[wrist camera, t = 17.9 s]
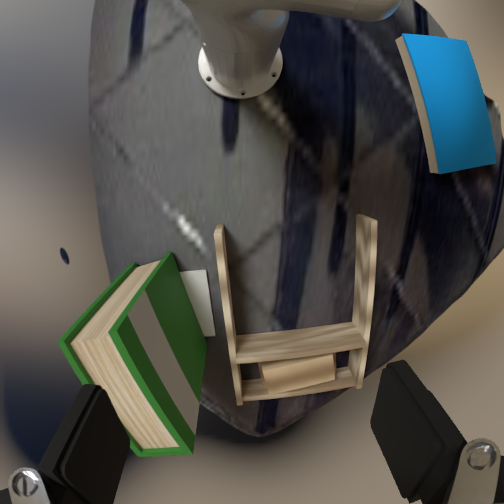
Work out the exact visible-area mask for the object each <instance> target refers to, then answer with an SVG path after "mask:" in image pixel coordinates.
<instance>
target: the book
mask: <svg viewBox="0 0 504 504" xmlns="http://www.w3.org/2000/svg"><path fill="white" fill-rule="evenodd" d="M395 41H396V43H397V46H398V49H399V52H400V54H401V57H402V60H403V63H404V66H405V69H406V72H407V75H408V78H409V82H410V85H411V88H412V92H413V95H414V99H415V103H416V106H417V110H418V114H419V118H420V123H421V127H422V131H423V136H424V141H425V146H426V151H427V156H428V162H429V168H430V173H438V174H444V173H449V172H454V171H459V170H464V169H469V168H474V167H479V166H484V165H490V164H495V163H497V161H496V154H495V147H494V141H493V135H492V130H491V125H490V120H489V115H488V111H487V106H486V102H485V98H484V94H483V90H482V87H481V83H480V80H479V77H478V73H477V70H476V67H475V64H474V61H473V58H472V55H471V52H470V49H469V47H468V44H467V41H464V40H458V39H451V38H444V37H436V36H426V35H415V34H402V36H401V37H399V38H398V39H397V40H395Z"/></svg>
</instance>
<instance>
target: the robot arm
mask: <svg viewBox="0 0 504 504" xmlns="http://www.w3.org/2000/svg"><path fill="white" fill-rule="evenodd" d="M181 1H182V2H183V3H184V4H185V5H186V6H187V7H188V8H189V10H190V11H191V13H192V16H193V18H194V21H195V24H196V27H197V31H198V34H199V37H200V41H201V44H202V48H201V50H200V53H199V56H198V69H199V73H200V76H201V78H202V79H203V81H204V83H205V84H206V85H207V86H208V87H209V88H210V89H211V90H212V91H214V92H215V93H217V94H219V95H221V96H224V97H227V98H231V99H248V98H253V97H256V96H258V95H261V94H263V93H264V92H266V91H268V90H269V89H270V88H271V87H272V86H273V85H274V84H275V82H276V81H277V80H278V78H279V76H280V73H281V70H282V65H283V59H282V54H281V51H280V48H279V45H280V43H281V40H282V37H283V35H284V32H285V29H286V26H287V23H288V19H289V10H292V11H302V12H310V13H318V14H324V15H331V16H337V17H342V18H348V19H353V20H360V21H380V20H383V19H385V18H387V17H389V16H390V15H391V14H392V13H394V12H395V10H396V9H397V8H398V6H399V5H400V3H401V1H402V0H181ZM272 75H275V77H272ZM209 79H211V81H210V82H208V80H209ZM241 93H244V94H245V95H241ZM371 428H372V431H373V433H374V435H375V437H376V439H377V442H378V444H379V446H380V448H381V450H382V453H383V455H384V457H385V459H386V461H387V464H388V466H389V468H390V471H391V473H392V475H393V478H394V480H395V482H396V484H397V486H398V489H399V491H400V494H401V496H402V497H403V498H404V499H405V498H407V499H408V501H409V503H412V502H415V501H417V500H420V499H421V501H422V503H423V504H504V456H501V455H500V450H499V448H498V446H497V445H496V444H495V443H494V442H492V441H491V440H488V439H484V438H479V439H474V440H472V441H470V442H469V443H467V441H466V440H465V439H464V437H463V436H462V434H461V433H460V431H459V430H458V428H457V427H456V426H455V424H454V423H453V421H452V420H451V419H450V417H449V416H448V414H447V413H446V412H445V410H444V409H443V408H442V406H441V405H440V403H439V402H438V401H437V399H436V398H435V397H434V395H433V394H432V393H431V392H430V391H429V390H427V389H426V387H425V386H424V385H423V383H422V382H421V381H420V380H419V378H418V377H417V375H416V374H415V373H414V372H413V370H412V369H411V367H410V366H409V365H408V363H407V362H406V361H405V360H400V361H396V362H392V363H388V364H387V366H386V368H384V369H383V370H382V374H381V378H380V384H379V388H378V392H377V396H376V401H375V405H374V409H373V413H372V416H371ZM129 448H130V438H129V436H128V434H127V432H126V430H125V428H124V426H123V424H122V422H121V420H120V418H119V416H118V414H117V412H116V410H115V408H114V406H113V404H112V402H111V400H110V398H109V396H108V393H107V391H106V390H105V389H103V388H102V387H101V386H100V385H94V384H84V385H83V386H82V388H81V389H80V391H79V393H78V395H77V396H76V398H75V400H74V401H73V403H72V405H71V407H70V408H69V410H68V412H67V413H66V415H65V417H64V419H63V421H62V422H61V424H60V426H59V428H58V430H57V431H56V433H55V435H54V437H53V439H52V441H51V443H50V444H49V446H48V448H47V450H46V452H45V454H44V456H43V458H42V460H41V462H40V464H39V466H38V468H39V470H38V472H37V471H36V470H33V469H32V468H21V469H18V470H16V471H15V472H14V473H13V474H12V475H11V477H10V478H9V482H8V487H9V488H7V489H4V490H1V491H0V504H113V502H114V499H115V495H116V492H117V488H118V484H119V481H120V478H121V474H122V471H123V467H124V464H125V461H126V457H127V454H128V451H129Z"/></svg>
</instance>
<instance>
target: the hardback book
mask: <svg viewBox="0 0 504 504" xmlns="http://www.w3.org/2000/svg"><path fill="white" fill-rule="evenodd" d="M58 344H59V346H60V348H61V349H62V351H63V353H64V355H65V356H66V358H67V360H68V362H69V363H70V365H71V367H72V368H73V370H74V372H75V373H76V375H77V376H78V378H79V379H80V381H81V382H82V384H83V385H84V384H94V385H100V386H101V387H102V388H103V389H105V390H106V391H107V393H108V396H109V398H110V400H111V402H112V404H113V406H114V408H115V410H116V412H117V414H118V416H119V418H120V420H121V422H122V424H123V426H124V428H125V430H126V432H127V434H128V436H129V438H130V448H131V449H132V450H133V451H134V452H135V454H136V455H137V456H138V457H151V456H174V455H187V454H193V450H194V442H195V434H196V426H197V418H198V410H199V403H200V396H201V388H202V381H203V374H204V367H205V360H206V353H207V347H208V344H207V341H206V339H205V337H204V334H203V332H202V329H201V327H200V324H199V322H198V319H197V317H196V314H195V312H194V309H193V307H192V304H191V302H190V299H189V297H188V294H187V291H186V289H185V286H184V283H183V281H182V278H181V275H180V273H179V270H178V267H177V264H176V262H175V259H174V256H173V253H172V252H168V253H166V254H165V256H164V257H163V258H162V260H160V261H156V262H153V263H149V264H146V265H143V266H139V267H138V266H137V264H136V262H135V263H132V264H130V265H129V266H128V267H127V268H126V269H125V270H124V271H123V272H122V273H121V274H120V275H119V276H118V277H117V278H116V279H115V280H114V281H113V283H112V284H111V285H110V286H109V287H108V288H107V289H106V290H105V291H104V292H103V293H102V294H101V295H100V296H99V297H98V298H97V299H96V300H95V301H94V302H93V303H92V304H91V306H90V307H89V308H88V309H87V310H86V311H85V312H84V313H83V314H82V315H81V316H80V317H79V319H78V320H77V321H76V322H75V323H74V324H73V325H72V326H71V327H70V328H69V330H68V331H67V332H66V333H65V334H64V335H63V336H62V337H61V339H60V340H59V341H58Z"/></svg>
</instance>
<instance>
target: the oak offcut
mask: <svg viewBox="0 0 504 504" xmlns="http://www.w3.org/2000/svg"><path fill="white" fill-rule="evenodd" d="M261 363H262V371H263V375H264V379H265V382H266V386H267V389H268V393H269V395H272V394H277V393H281V392H286V391H291V390H295V389H299V388H304V387H308V386H312V385H316V384H320V383H324V382H327V381H331V380H335V373H334V361H333V354H332V353H328V354H321V355H314V356H307V357H299V358H291V359H283V360H274V361H264V362H261Z"/></svg>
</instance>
